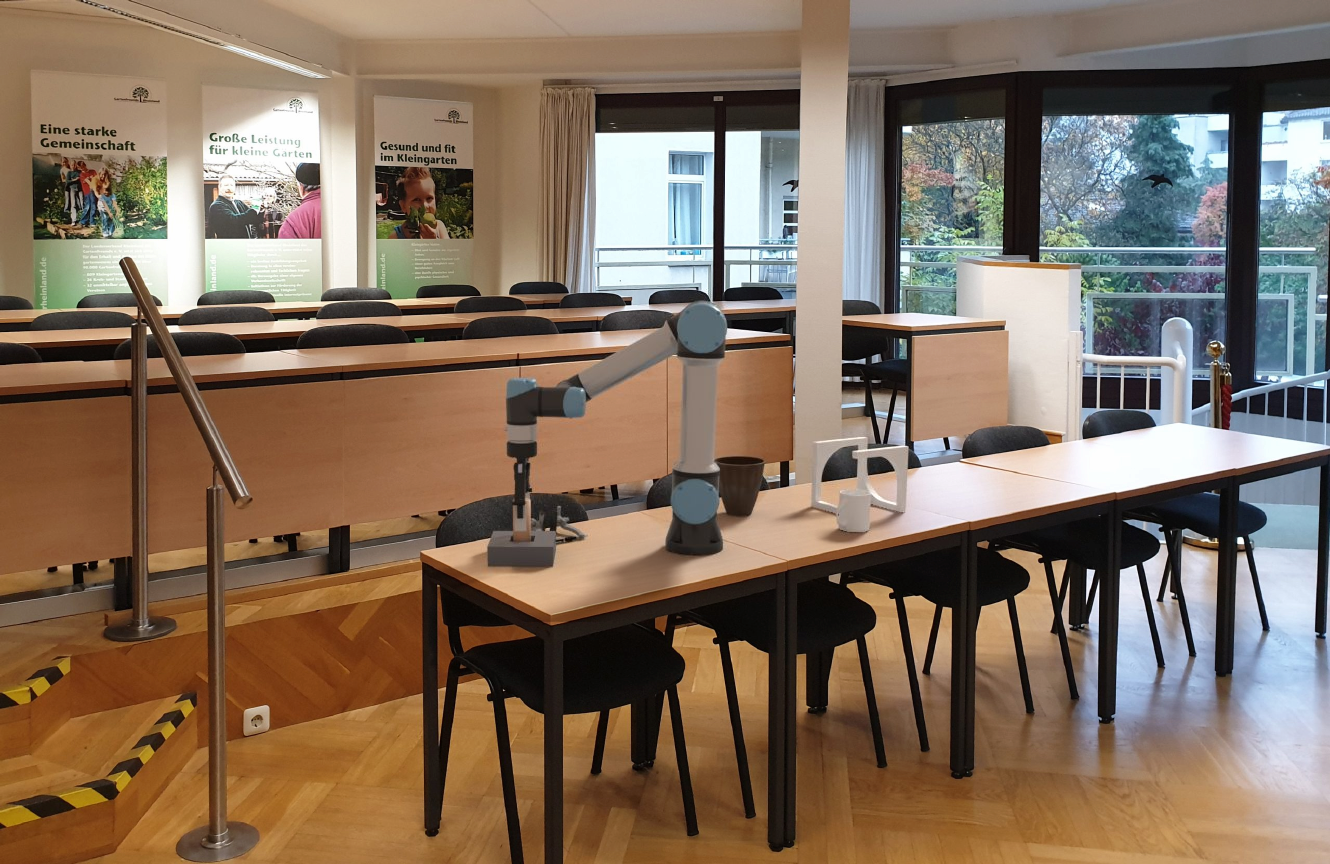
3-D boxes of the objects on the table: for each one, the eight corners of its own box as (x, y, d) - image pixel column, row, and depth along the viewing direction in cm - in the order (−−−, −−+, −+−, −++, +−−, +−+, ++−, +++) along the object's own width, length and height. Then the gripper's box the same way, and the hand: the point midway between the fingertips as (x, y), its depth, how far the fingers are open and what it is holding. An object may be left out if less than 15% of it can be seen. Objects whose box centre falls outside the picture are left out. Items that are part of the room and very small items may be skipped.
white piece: (905, 512, 355) (908, 446, 352) (854, 519, 345) (857, 452, 342) (861, 499, 372) (863, 436, 369) (811, 506, 361) (813, 441, 358)
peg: (531, 555, 301) (531, 497, 298) (530, 560, 296) (530, 501, 294) (513, 555, 300) (513, 497, 298) (512, 560, 296) (512, 501, 294)
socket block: (555, 549, 307) (555, 530, 306) (553, 566, 291) (553, 546, 290) (493, 549, 306) (493, 530, 305) (487, 566, 290) (487, 546, 289)
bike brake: (517, 531, 323) (552, 558, 307) (519, 507, 321) (554, 533, 305) (561, 525, 331) (597, 552, 315) (563, 502, 329) (600, 528, 313)
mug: (823, 530, 331) (825, 493, 329) (851, 524, 338) (853, 487, 337) (847, 536, 324) (849, 498, 323) (875, 530, 332) (877, 492, 330)
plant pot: (713, 518, 343) (714, 464, 341) (713, 507, 358) (714, 455, 356) (764, 519, 343) (766, 465, 340) (762, 508, 358) (763, 456, 355)
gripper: (510, 432, 306) (511, 513, 309) (502, 449, 281) (503, 536, 284) (539, 432, 306) (540, 513, 309) (534, 449, 281) (534, 536, 285)
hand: (522, 524), depth 297 cm, fingers open, 13 cm apart
